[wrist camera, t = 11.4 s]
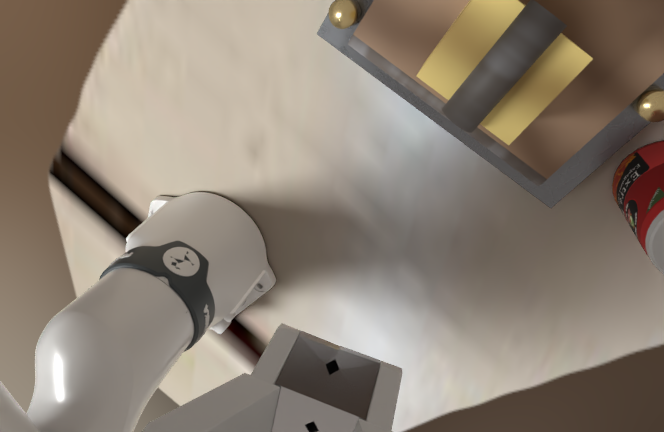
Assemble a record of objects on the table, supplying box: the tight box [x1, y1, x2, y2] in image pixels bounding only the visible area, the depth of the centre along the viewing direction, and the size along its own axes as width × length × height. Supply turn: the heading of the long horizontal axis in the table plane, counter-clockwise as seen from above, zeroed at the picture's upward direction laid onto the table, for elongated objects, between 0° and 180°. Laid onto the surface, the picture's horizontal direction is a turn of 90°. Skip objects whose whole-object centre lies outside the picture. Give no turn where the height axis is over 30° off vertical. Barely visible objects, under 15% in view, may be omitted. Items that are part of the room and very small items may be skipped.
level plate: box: [348, 0, 664, 186], centre depth 29 cm, size 19×20×10 cm
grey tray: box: [317, 0, 664, 208], centre depth 34 cm, size 22×26×5 cm
